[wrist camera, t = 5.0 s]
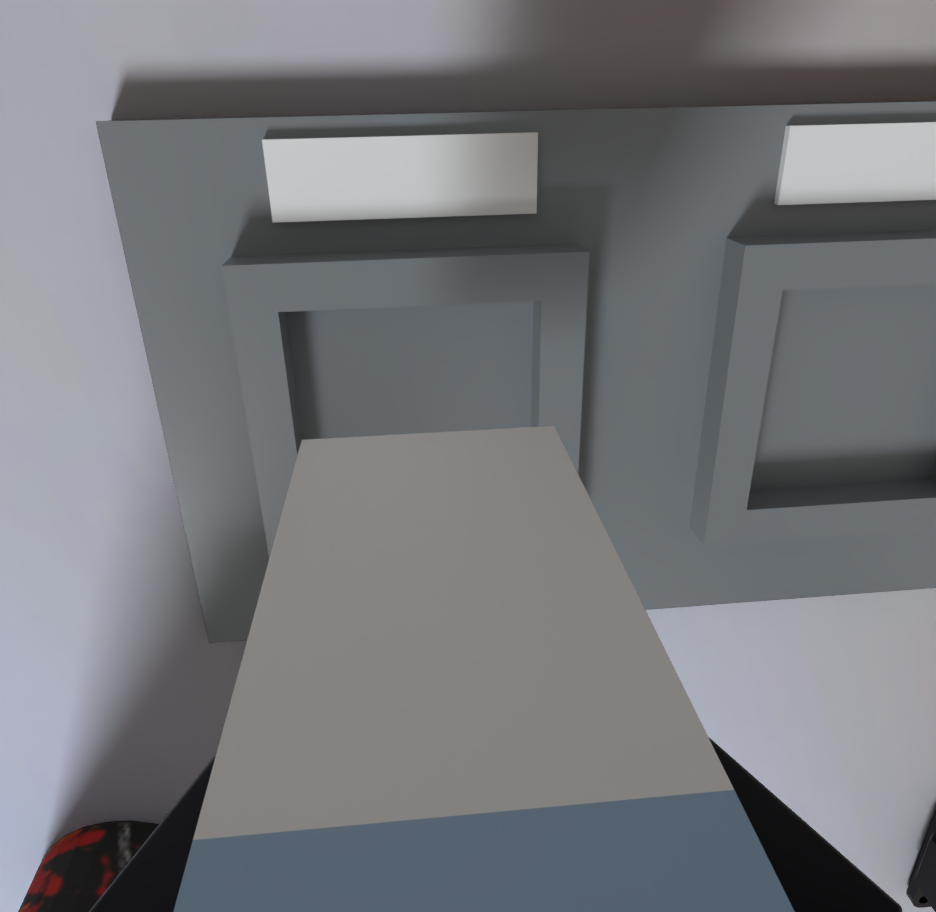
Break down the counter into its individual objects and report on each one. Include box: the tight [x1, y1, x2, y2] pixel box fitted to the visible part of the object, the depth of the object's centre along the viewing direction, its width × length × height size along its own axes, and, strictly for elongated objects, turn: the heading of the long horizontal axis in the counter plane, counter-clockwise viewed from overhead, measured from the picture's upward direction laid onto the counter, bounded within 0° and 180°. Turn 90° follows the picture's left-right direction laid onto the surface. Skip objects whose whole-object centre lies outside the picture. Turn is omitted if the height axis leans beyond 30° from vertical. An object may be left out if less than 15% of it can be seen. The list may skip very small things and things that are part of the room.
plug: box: [173, 426, 795, 912], centre depth 8 cm, size 4×4×11 cm
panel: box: [96, 101, 936, 643], centre depth 18 cm, size 23×13×2 cm, turn 91°
